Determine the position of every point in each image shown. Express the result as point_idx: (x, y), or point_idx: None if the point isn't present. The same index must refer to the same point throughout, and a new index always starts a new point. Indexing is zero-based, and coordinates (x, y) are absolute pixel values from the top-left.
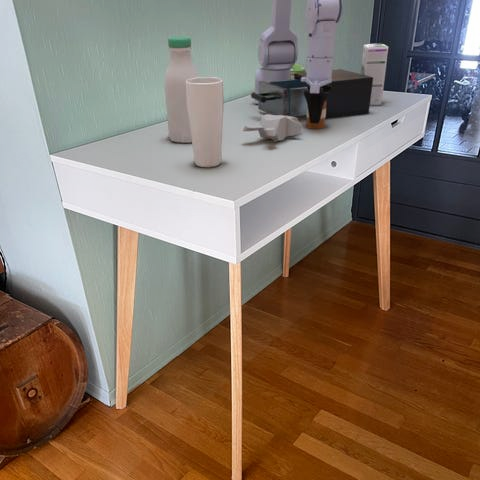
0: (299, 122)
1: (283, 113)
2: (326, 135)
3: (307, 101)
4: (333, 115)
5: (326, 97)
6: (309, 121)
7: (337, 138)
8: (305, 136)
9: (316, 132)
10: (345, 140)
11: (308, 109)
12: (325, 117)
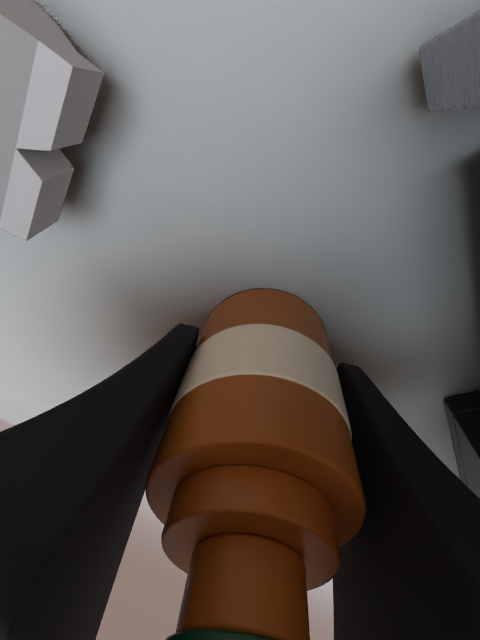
0: (24, 236)
1: (458, 49)
2: (71, 365)
3: (19, 431)
4: (461, 470)
5: (333, 589)
6: (215, 324)
7: (32, 397)
8: (9, 251)
9: (122, 328)
10: (12, 417)
11: (114, 373)
12: (451, 429)
